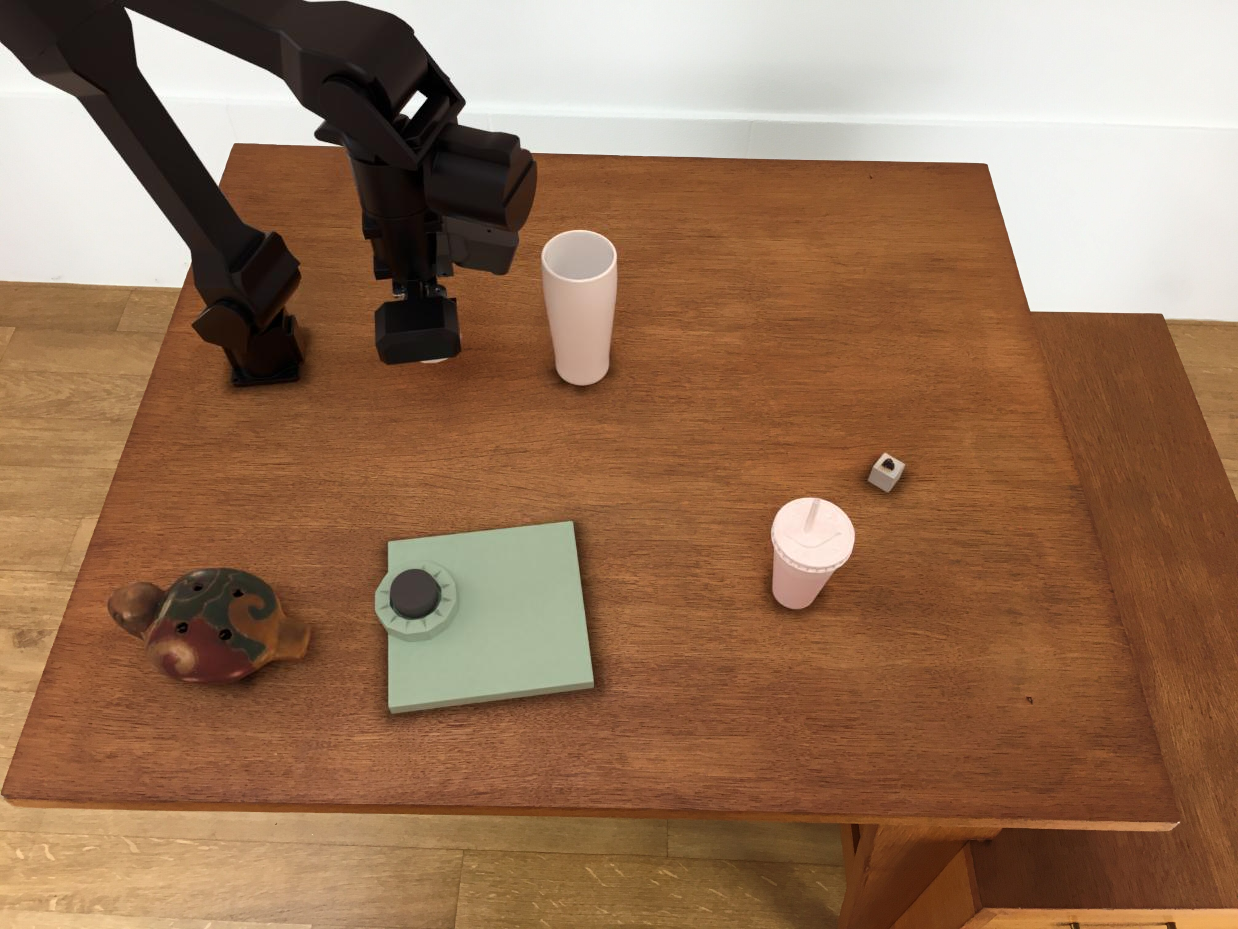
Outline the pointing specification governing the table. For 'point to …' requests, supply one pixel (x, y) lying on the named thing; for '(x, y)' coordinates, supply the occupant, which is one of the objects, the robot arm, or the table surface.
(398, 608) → the power button
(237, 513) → the table surface
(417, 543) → the scale
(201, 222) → the robot arm
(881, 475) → the cube with dark pebbles
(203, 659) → the multicoloured rounded piece
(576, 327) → the drinking glass
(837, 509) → the smoothie
